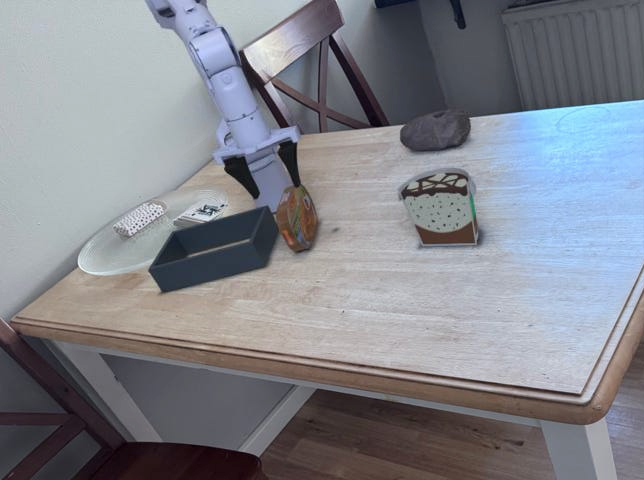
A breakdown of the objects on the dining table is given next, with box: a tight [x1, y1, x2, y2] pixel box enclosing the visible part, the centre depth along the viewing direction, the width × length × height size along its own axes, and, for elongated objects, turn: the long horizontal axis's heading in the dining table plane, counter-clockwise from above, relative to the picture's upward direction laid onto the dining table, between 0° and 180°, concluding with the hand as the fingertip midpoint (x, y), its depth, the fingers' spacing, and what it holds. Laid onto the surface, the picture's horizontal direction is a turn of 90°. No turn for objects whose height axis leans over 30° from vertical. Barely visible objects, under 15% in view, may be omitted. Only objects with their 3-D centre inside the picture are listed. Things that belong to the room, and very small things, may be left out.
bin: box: [147, 205, 280, 293], centre depth 116 cm, size 14×20×5 cm
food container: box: [397, 166, 480, 247], centre depth 96 cm, size 12×6×10 cm, turn 65°
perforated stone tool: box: [399, 107, 472, 152], centre depth 125 cm, size 15×5×7 cm, turn 67°
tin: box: [275, 183, 318, 252], centre depth 112 cm, size 15×3×8 cm, turn 178°
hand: (277, 190), depth 109 cm, fingers open, 7 cm apart
